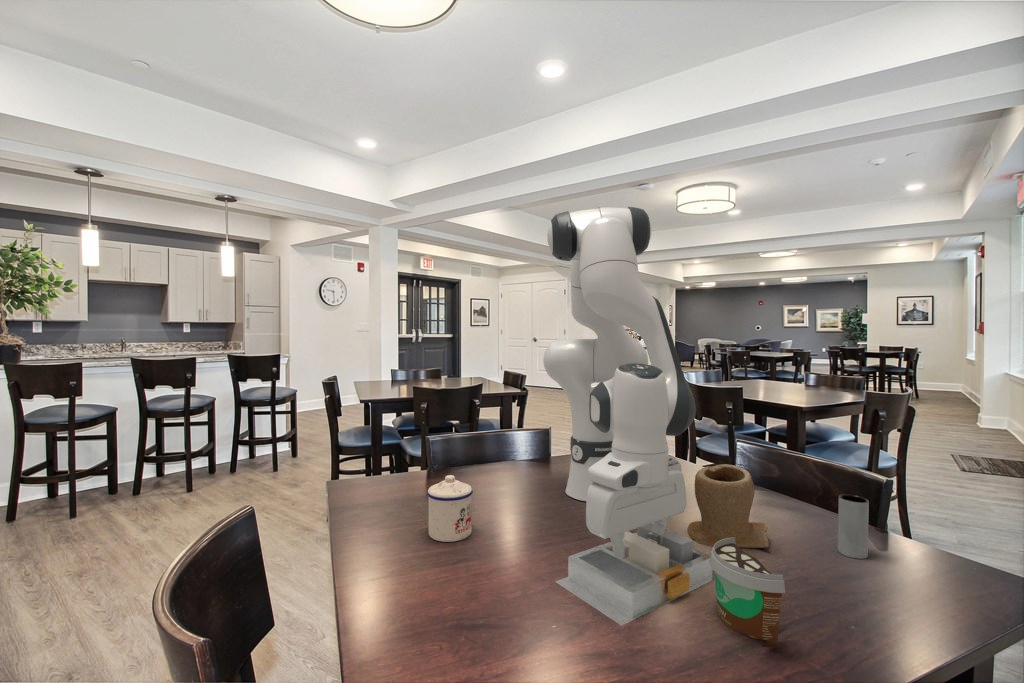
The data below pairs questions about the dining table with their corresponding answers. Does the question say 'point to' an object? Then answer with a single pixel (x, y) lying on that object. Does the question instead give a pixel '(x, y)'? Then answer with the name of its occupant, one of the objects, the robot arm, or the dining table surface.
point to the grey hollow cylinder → (853, 526)
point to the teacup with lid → (449, 510)
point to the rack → (630, 582)
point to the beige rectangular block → (646, 553)
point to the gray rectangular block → (672, 544)
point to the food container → (746, 592)
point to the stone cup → (726, 508)
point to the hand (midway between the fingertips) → (638, 550)
